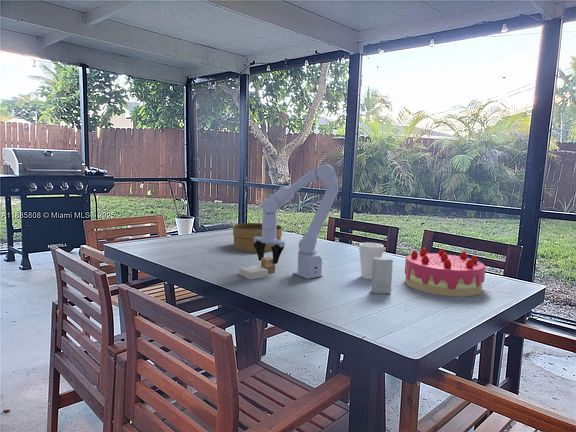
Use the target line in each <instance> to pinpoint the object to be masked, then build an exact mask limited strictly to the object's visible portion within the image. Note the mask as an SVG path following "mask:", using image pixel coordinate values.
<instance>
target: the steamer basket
mask: <svg viewBox="0 0 576 432" xmlns="http://www.w3.org/2000/svg"><path fill="white" fill-rule="evenodd" d="M282 234H283V227H282V226H281V225H277V228H276V238H277V240H280V241H282V240H281V239H282V236H283V235H282ZM232 235H233V248H234V249H235V250H239V251H242V252H249V253H250V252H251V253H257V251H256V249H255V247H254V243H256V242H254V237H262V222H246V223H238V224H237V223H236V224H234V225H233V226H232ZM273 246H275V245H271V244H266V245H265V249H264V253H269V252H272V249H271V247H273Z"/></svg>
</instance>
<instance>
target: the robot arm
mask: <svg viewBox="0 0 576 432" xmlns="http://www.w3.org/2000/svg"><path fill="white" fill-rule="evenodd" d="M318 181H320V182H321V183H322V185H323V188H324V190H325V193H324V195H323V196H322V199H321V201H320V203H319V205H318V207H317V210H316V211H315V214H314V216H313V218H312V220H311V222H310V224H309V227H308V229H307V231H306V233H305V234H304V235H303V236H302V237H301V239H300V240H299V241H298V248H299V249H298V253H297V271H292V274H294V275H297V276H299V277H301V278H305V279H306V280H307V279H313V278H314V279H315V278H320V277H324V275H323V273H322V269H323V267H322V265H323V261H322V257H321V256H320V255H318V251H317V249H315V248H316V245H317V243H318V242H317V239H318V236H319V233H320V231H322V230H321V229H322V227H323V226H324V223H325V221H326V219H327V217H328V215H329V213H330V210H331V208H332V206H333V204H334V202H335V200H336V198H337V196H338V193H339V191H340V189H339V182H338V178H337V173H336V170H335V169H334V167H333V166H332V165H331V164H328V163H327V164H326V163H323V164H321V165H319V166H318V167H315V168H314V169H311V170H310V171H308V172H307V173H305V174H304V175H303V176H301V177H300V178H299V179H298V180H296V181H295V182H294V183H292V184H291V185H289V186H287V185H284V186H279V188H278V190H277V191H276V192H274V193H273V194H272V193H271V194H270V195H269V197H268V198H265V199H264V200H263V201H262V203H261V209H262V220H261V221H262V222H261V223H262V237H254V242H256V243H254V247H255V249H256V251H257V252H256V254H257V258H258V261H259V262H261V258H265V252H264V249H265V245H266V244H271V245H275V246H273V247H271V249H272V251H271V252H272V258H273V264H275V265H277V264H279V259H280V256H281V254H282V252H283V250H284V249H285V241H283V240H281V241H280V240H277V238H276V228H277V223H278V218H277V217H278V215H277V213H278V209H279V208H280V207H282V206H284V205H285V204H287V203H288V202H290V201H291V200H292V199H293V198H294V197H295V193H297V192H298V191H299V190H301V189H302V188H304V187H305V186H307V185H308V184H309V183H311V182H318Z"/></svg>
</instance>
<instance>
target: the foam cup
mask: <svg viewBox="0 0 576 432" xmlns="http://www.w3.org/2000/svg"><path fill="white" fill-rule="evenodd" d="M358 245H359V247H358V250H359V261H360V273H361V275H360V276H361V278H363V279H367V280H372V260H373V257H378V258H383V254H384V248H385V246H384V244H382V243H377V242H360V243H359V244H358Z"/></svg>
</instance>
